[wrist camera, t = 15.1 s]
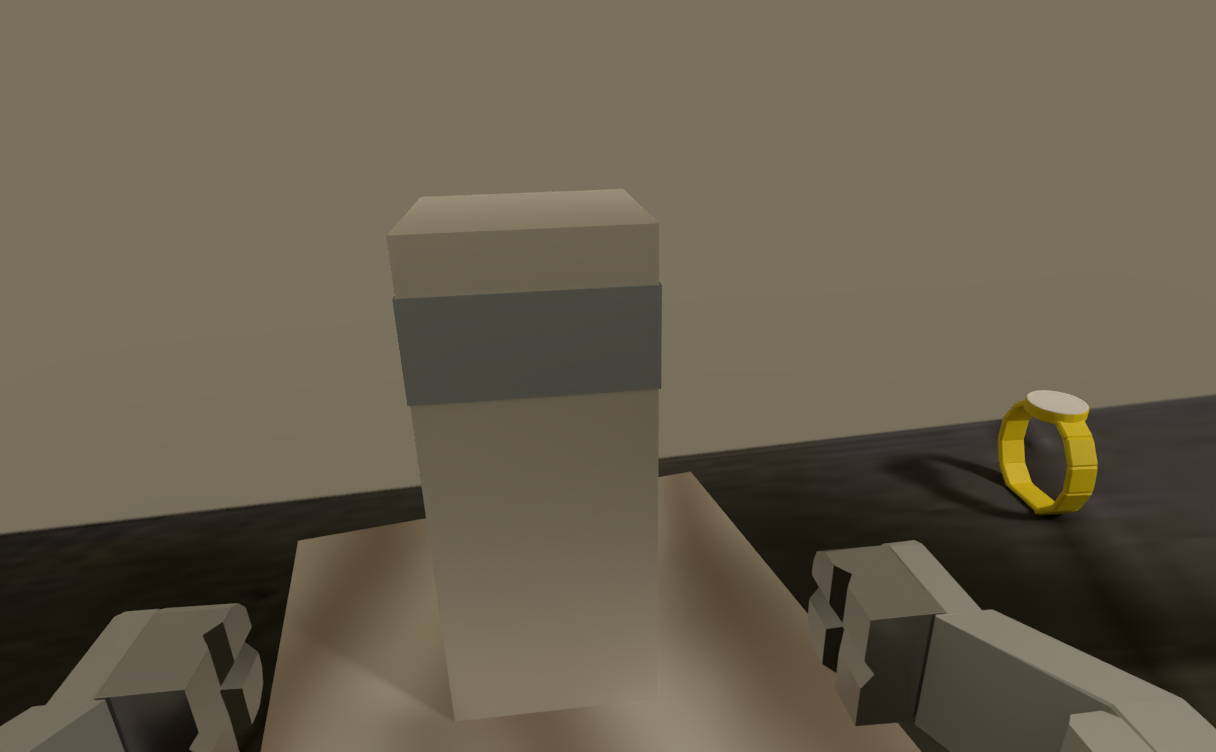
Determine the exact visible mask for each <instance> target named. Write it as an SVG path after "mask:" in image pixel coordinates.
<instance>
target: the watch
mask: <svg viewBox="0 0 1216 752" xmlns="http://www.w3.org/2000/svg"><path fill="white" fill-rule="evenodd" d="M1088 413H1089V406H1088V404H1087V403H1085V402H1084V401H1083V400H1081V399H1079V398H1077V397H1075V396H1072V395H1069V394H1065V393H1061V392H1056V391H1046V390H1044V391H1043V390H1040V391H1033V392H1031V393H1029V394H1028V395H1027V396H1026V399H1025V400H1023V401H1019V402H1017V403H1015V404H1014V405H1013V407H1012V408H1011V409H1010V410H1009V411H1008V412H1007V414H1006V415H1005V416H1004V418H1003V420H1002V424H1001V428H1000V432H999V436H998V439H999V440H998V459H999V463H1000V465H999V466H1000V469H1001V472H1002V475H1003V478H1004V481H1005V484H1006V486H1007V487H1008V488H1009V489H1011V490H1012V491H1013V492H1014V493H1015V494H1016V495H1017V496H1019V497H1020V498H1021V499H1022V500H1023V501H1024V502H1025V503H1027V505H1028V506H1030V507H1031V508H1032V509H1033V510H1034V511H1035V512H1034V513H1035V514H1038V515H1057V514H1065V513H1070V512H1075V511H1078V509H1080V508H1081V507H1082V506H1083V505H1084V503H1085V502H1086V501H1087V500H1088V498H1089V497H1090V496H1091V494H1092V492H1093V489H1094V484H1095V479H1096V474H1097V469H1098V468H1097V465H1098V463H1097V457H1096V451H1095V445H1094V439H1093V438H1092V434H1091V432H1090V431H1089V429H1088V427H1087V425H1086V423H1085V421H1086V419H1087V416H1088ZM1032 416H1033V417H1034V418H1036V419H1039V420H1041V421H1044V422H1048V423H1052V424H1055V425H1056V427H1057V429H1058V431H1059V433H1060V435H1061V437H1062V439H1063V440H1064V441H1063V443H1064V449H1065V455H1066V462H1067V466H1068V467H1067V471H1066V477H1065V482H1064V488H1063V491H1062V492H1061V494H1060V495H1059V497H1058V498H1057V499H1056V501H1055V502H1054V501H1053V500H1052V499H1051V498H1049V497H1048V496H1047V495H1046V494H1045V493H1043V492H1042V491H1041V490H1040V489H1039V488H1037V487H1036V486H1035V485H1034V484H1032V481H1031V478H1030V476H1029V473H1028V470H1027V467H1026V464H1025V463H1024V462H1025V456H1024V440H1023V439H1024V436H1025V433H1026V429H1027V425H1028V422H1029V419H1030V418H1031V417H1032Z"/></svg>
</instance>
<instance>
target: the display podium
mask: <svg viewBox="0 0 1216 752" xmlns="http://www.w3.org/2000/svg"><path fill="white" fill-rule="evenodd" d="M836 674H837V673H835V672H833V671H832V670H830V669H829V668H827V667H826V666H824V665H823V664H822V663H821V661H820V659H819V657H818V655H817V653H816V651H815V648H814V645H813V642H812V639H811V636H810V629H809V622H808V614H807V612H806V611H805V610H804V609H803V608H802V606H801V605H800V604H799V603H798V601H797V600H796V599H795V598H794V597H793V595H792V594H791V593H790V592H789V591H788V589H787V588H786V587H785V586H784V584H783V583H782V582H781V581H780V580H779V578H778V577H777V576H776V575H775V574H774V572H773V571H772V570H771V569H770V567H769V566H768V565H767V564H766V563H765V561H764V560H763V559H762V558H761V557H760V555H759V554H758V553H757V552H756V550H755V549H754V548H753V547H752V546H751V544H750V543H749V542H748V541H747V540H746V538H745V537H744V536H743V535H742V534H741V532H740V531H739V530H738V529H737V527H736V526H735V525H734V524H733V523H732V521H731V520H730V519H729V518H728V517H727V515H726V514H725V513H724V512H723V510H722V509H721V508H720V507H719V506H718V504H717V503H716V502H715V501H714V500H713V498H712V497H711V496H710V495H709V493H708V492H707V491H706V490H705V489H704V487H703V486H702V485H701V484H700V483H699V481H698V480H697V479H696V478H695V476H694V475H693V474H692V473H691V472H686V473H681V474H675V475H669V476H664V477H658V668H657V699H651V700H643V701H634V702H625V703H616V704H607V705H598V706H589V707H580V708H571V709H563V710H554V711H545V712H536V713H527V714H518V715H509V716H500V717H491V718H483V719H474V720H465V721H456V722H455V720H454V713H453V706H452V699H451V691H450V684H449V677H448V670H447V663H446V656H445V649H444V642H443V635H442V627H441V620H440V613H439V606H438V599H437V592H436V585H435V578H434V570H433V563H432V556H431V549H430V542H429V535H428V528H427V521H426V518H425V519H420V520H414V521H408V522H403V523H397V524H391V525H386V526H380V527H374V528H369V529H363V530H357V531H352V532H346V533H340V534H335V535H329V536H323V537H318V538H312V539H306V540H301V541H298V546H297V551H296V557H295V562H294V568H293V574H292V579H291V585H290V590H289V596H288V602H287V607H286V613H285V618H284V624H283V630H282V635H281V641H280V646H279V652H278V658H277V663H276V669H275V674H274V680H273V686H272V691H271V697H270V702H269V708H268V714H267V719H266V725H265V730H264V736H263V742H262V747H261V752H921V751H920V749H919V748H918V747H917V746H916V745H915V743H914V742H913V741H912V740H911V739H910V737H909V736H908V735H907V734H906V732H905V731H904V730H903V729H902V728H901V726H900V725H899V724H898V723H888V724H876V725H865V726H855V725H854V723H853V721H852V719H851V718H850V716H849V714H848V712H847V710H846V708H845V706H844V705H843V703H842V701H841V699H840V697H839V695H838V693H837V692H836V690H835V682H836Z"/></svg>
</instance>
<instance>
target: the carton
mask: <svg viewBox="0 0 1216 752" xmlns="http://www.w3.org/2000/svg"><path fill="white" fill-rule="evenodd" d="M387 243H388V250H389V256H390V264H391V271H392V278H393V285H394V293H395V296H394V298H393V306H394V314H395V321H396V328H397V334H398V342H399V349H400V356H401V363H402V370H403V377H404V384H405V391H406V398H407V405H408V406H410V407H411V414H412V420H413V428H414V435H415V442H416V449H417V456H418V463H419V470H420V477H421V485H422V492H423V499H424V506H425V513H426V521H427V528H428V535H429V542H430V549H431V556H432V563H433V570H434V578H435V585H436V592H437V599H438V606H439V613H440V620H441V627H442V635H443V642H444V649H445V656H446V663H447V670H448V677H449V684H450V691H451V699H452V706H453V713H454V720H455V722H456V721H465V720H474V719H483V718H491V717H500V716H509V715H518V714H527V713H536V712H545V711H554V710H563V709H571V708H580V707H589V706H598V705H607V704H616V703H625V702H634V701H643V700H651V699H657V668H658V401H659V399H658V398H659V396H658V395H659V394H658V393H659V392H658V391H659V389H661V321H662V320H661V319H662V316H661V315H662V311H661V310H662V307H661V306H662V300H661V299H662V285H661V284H660V282H659V223H658V222H657V221H656V220H655V219H654V218H653V217H652V216H651V215H650V214H649V213H648V212H647V211H646V210H645V209H643V208H642V207H641V206H640V205H639V204H638V203H637V202H636V201H635V200H634V199H633V198H632V197H631V196H630V195H629V194H628V193H626V192H625V191H624V190H623V189H610V190H587V191H586V190H585V191H559V192H534V193H512V194H484V195H458V196H435V197H421V198H420V199H419V200H418V201H417V202H416V203H415V204H414V205H413V207H412V208H411V209H410V210H409V211H408V212H407V213H406V214H405V215H404V217H403V218H402V219H401V220H400V221H399V222H398V223H397V224H396V225H395V227H394V228H393V229H392V230H391V231H390V232H389V233H388V234H387Z"/></svg>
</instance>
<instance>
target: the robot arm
mask: <svg viewBox="0 0 1216 752" xmlns="http://www.w3.org/2000/svg"><path fill="white" fill-rule="evenodd" d="M812 576H813V577H814V579H815V581H816V582H817V584H818V586H819V588H818V589H817V590H816V592H815V593H814V594H813V595H812V596H811V597H810V599H809V609H808V622H809V629H810V636H811V639H812V642H813V645H814V648H815V651H816V653H817V655H818V657H819V659H820V661H821V663H822V664H823V665H824V666H826V667H827V668H829V669H830V670H832V671H833V672H835V673H837V674H836V682H835V690H836V692H837V693H838V695H839V697H840V699H841V701H842V703H843V705H844V706H845V708H846V710H847V712H848V714H849V716H850V718H851V719H852V721H853V723H854V725H855V726H865V725H876V724H888V723H900V722H911V721H915V725H916V726H918V727H919V728H920V729H922V730H923V731H924V732H925V733H927V734H928V735H929V736H931V737H932V738H933V739H934V740H936V741H937V742H938V743H939V744H941V745H942V746H943V747H945V748H946V749H947V750H948V751H950V752H1216V729H1215V728H1214V727H1213V726H1212V725H1211V724H1210V723H1209V722H1208V721H1207V720H1206V719H1204V718H1203V717H1202V716H1201V715H1200V714H1199V713H1198V712H1197V711H1196V710H1195V709H1194V708H1192V707H1191V706H1190V705H1189V704H1188V703H1187V702H1186V701H1185V700H1184V699H1182V698H1180V697H1178V696H1176V695H1174V694H1171V693H1169V692H1167V691H1165V690H1163V689H1161V688H1159V687H1157V686H1154V685H1152V684H1150V683H1148V682H1146V681H1144V680H1142V679H1139V678H1137V677H1135V676H1133V675H1131V674H1129V673H1127V672H1125V671H1122V670H1120V669H1118V668H1116V667H1114V666H1112V665H1110V664H1107V663H1105V662H1103V661H1101V660H1099V659H1097V658H1095V657H1093V656H1090V655H1088V654H1086V653H1084V652H1082V651H1080V650H1078V649H1075V648H1073V647H1071V646H1069V645H1067V644H1065V643H1063V642H1061V641H1058V640H1056V639H1054V638H1052V637H1050V636H1048V635H1046V634H1044V633H1041V632H1039V631H1037V630H1035V629H1033V628H1031V627H1029V626H1026V625H1024V624H1022V623H1020V622H1018V621H1016V620H1014V619H1012V618H1009V617H1007V616H1005V615H1003V614H1001V613H999V612H997V611H994V610H981V609H980V607H979V606H978V605H977V604H976V603H975V602H974V601H973V600H972V599H971V597H970V596H969V595H968V594H967V593H966V592H965V591H964V590H963V589H962V587H961V586H960V585H959V584H958V583H957V582H956V581H955V580H954V579H953V577H952V576H951V575H950V574H949V573H948V572H947V571H946V570H945V569H944V567H943V566H942V565H941V564H940V563H939V562H938V561H937V560H936V559H935V557H934V556H933V555H932V554H931V553H930V552H929V551H928V550H927V549H926V547H925V546H924V545H923V544H922V543H919V542H917V541H915V540H912V541H903V542H895V543H886V544H882V545H879V546H868V547H858V548H847V549H837V550H826V551H817V553H816V555H815V558H814V560H813V568H812ZM251 627H252V626H251V623H250V620H249V617H248V613H247V610H246V607H244V606H242V605H240V604H239V603H234V604H219V605H205V606H190V607H176V608H164V609H152V610H140V611H128V612H124V613H122V614H119V615H117V616H115V617H114V618H113V619H112V620H111V622H110V623H109V624H108V626H107V627H106V628H105V629H104V631H103V632H102V633H101V635H100V636H99V637H98V638H97V640H96V641H95V642H94V644H93V645H92V646H91V647H90V649H89V650H88V651H87V652H86V654H85V655H84V656H83V658H82V659H81V660H80V661H79V663H78V664H77V665H76V667H75V668H74V669H73V670H72V672H71V673H70V674H69V676H68V677H67V678H66V679H65V681H64V682H63V683H62V685H61V686H60V687H59V688H58V690H57V691H56V692H55V694H54V695H53V696H52V697H51V699H50V700H49V701H48V703H47V704H46V705H43V706H35V707H31V708H29V709H28V710H26V711H25V712H23V713H21V714H20V715H18V716H16V717H15V718H13V719H12V720H10V721H8V722H7V723H5V724H4V725H2V726H0V752H239V749H238V745H237V742H236V738H237V737H239V736H240V735H241V734H242V733H243V732H244V731H246V730H247V729H248V728H249V727H250V726H252V724H253V722H254V719H255V716H256V714H257V711H258V709H259V706H260V700H261V694H262V688H263V675H262V665H261V661H260V657H259V653H258V652H257V651H256V650H255V649H253V648H252V647H251V646H249V645H248V644H247V643H246V642H245V640H246V638H247V635H248V633H249V631H250V629H251Z"/></svg>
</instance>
